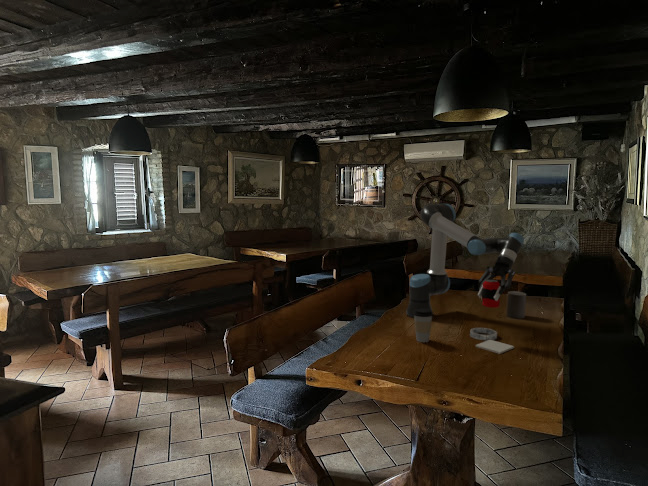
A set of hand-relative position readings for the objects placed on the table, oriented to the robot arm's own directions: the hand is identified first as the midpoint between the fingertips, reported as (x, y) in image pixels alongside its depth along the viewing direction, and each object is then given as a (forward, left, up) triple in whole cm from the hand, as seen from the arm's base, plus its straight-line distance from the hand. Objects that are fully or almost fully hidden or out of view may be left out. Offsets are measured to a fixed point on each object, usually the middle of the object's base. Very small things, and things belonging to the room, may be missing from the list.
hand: (487, 297), depth 203 cm
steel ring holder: (-5, +6, -21) cm, 23 cm away
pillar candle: (-13, +52, -22) cm, 58 cm away
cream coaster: (+7, -4, -21) cm, 23 cm away
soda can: (0, +4, -5) cm, 6 cm away
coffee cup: (-20, -22, -22) cm, 37 cm away
